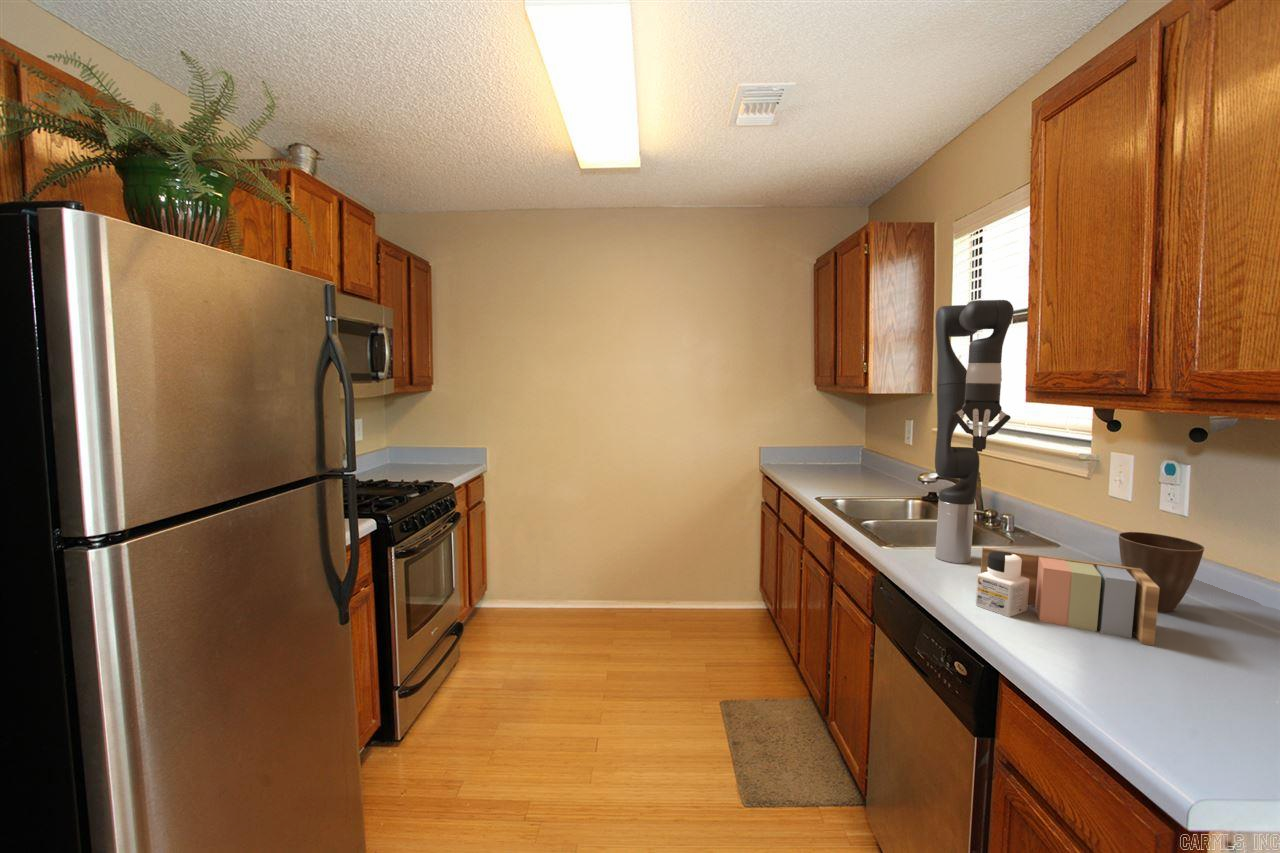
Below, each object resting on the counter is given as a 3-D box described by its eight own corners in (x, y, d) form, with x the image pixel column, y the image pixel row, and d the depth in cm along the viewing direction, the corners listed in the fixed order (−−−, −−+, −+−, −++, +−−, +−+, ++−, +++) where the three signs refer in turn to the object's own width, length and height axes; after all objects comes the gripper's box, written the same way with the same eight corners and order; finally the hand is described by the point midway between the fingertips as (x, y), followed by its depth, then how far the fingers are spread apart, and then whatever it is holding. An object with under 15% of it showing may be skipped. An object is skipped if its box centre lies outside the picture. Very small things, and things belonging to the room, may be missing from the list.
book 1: (1034, 606, 135) (1038, 556, 134) (1060, 611, 133) (1065, 560, 132) (1039, 620, 127) (1043, 567, 126) (1067, 625, 125) (1071, 571, 124)
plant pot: (1202, 609, 135) (1209, 542, 134) (1191, 625, 126) (1198, 554, 125) (1121, 590, 147) (1127, 528, 145) (1105, 604, 138) (1111, 538, 136)
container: (974, 605, 135) (978, 551, 134) (993, 599, 139) (996, 547, 138) (1009, 617, 129) (1014, 561, 128) (1027, 611, 133) (1032, 555, 132)
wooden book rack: (979, 594, 142) (982, 547, 141) (1136, 621, 128) (1140, 568, 127) (981, 614, 130) (984, 562, 129) (1154, 646, 116) (1159, 588, 115)
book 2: (1061, 611, 133) (1065, 560, 132) (1088, 616, 130) (1092, 564, 129) (1067, 626, 125) (1072, 572, 124) (1096, 631, 122) (1101, 576, 121)
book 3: (1092, 617, 130) (1096, 565, 129) (1120, 622, 127) (1125, 569, 126) (1100, 632, 122) (1105, 577, 121) (1131, 637, 120) (1136, 581, 119)
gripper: (1013, 382, 143) (1008, 451, 145) (953, 381, 149) (948, 447, 151) (1016, 382, 137) (1011, 455, 138) (952, 381, 143) (948, 450, 144)
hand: (978, 451), depth 145 cm, fingers closed
